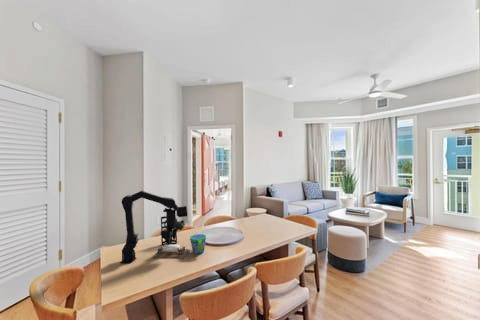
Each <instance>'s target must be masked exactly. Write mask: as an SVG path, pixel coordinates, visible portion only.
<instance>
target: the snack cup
mask: <svg viewBox="0 0 480 320" xmlns="http://www.w3.org/2000/svg"><path fill="white" fill-rule="evenodd" d="M206 240H207V235H206V234H203V233H196V234H192V235H191V236H190V237H189V241H190V244H191V250H192V253H193V254H194V255H195V254H196V255H197V254H199V255H200V254H202V253H205V248H206Z"/></svg>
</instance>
